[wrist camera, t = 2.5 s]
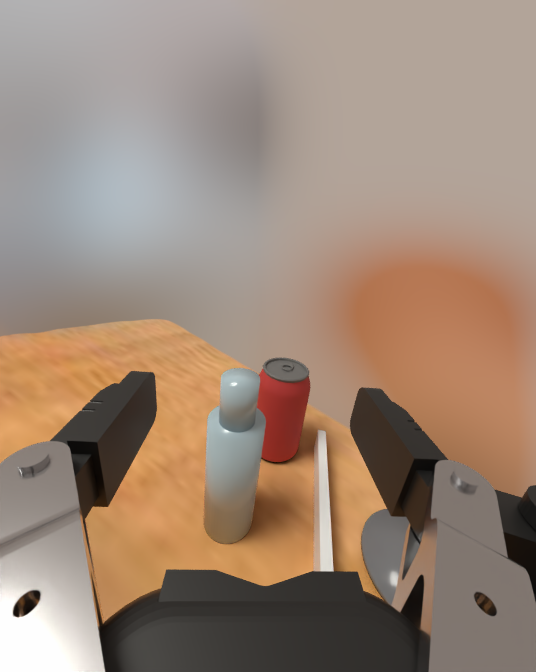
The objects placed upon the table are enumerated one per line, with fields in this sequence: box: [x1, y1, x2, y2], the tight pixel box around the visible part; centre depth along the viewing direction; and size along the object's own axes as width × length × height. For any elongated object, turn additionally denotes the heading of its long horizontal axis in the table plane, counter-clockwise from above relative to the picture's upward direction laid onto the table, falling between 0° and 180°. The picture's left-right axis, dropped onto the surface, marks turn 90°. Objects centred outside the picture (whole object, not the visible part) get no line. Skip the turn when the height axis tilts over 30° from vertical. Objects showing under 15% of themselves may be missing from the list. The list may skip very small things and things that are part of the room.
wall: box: [314, 430, 333, 571], centre depth 25 cm, size 22×1×3 cm, turn 170°
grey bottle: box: [204, 368, 266, 544], centre depth 23 cm, size 5×5×16 cm
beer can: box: [257, 358, 310, 462], centre depth 33 cm, size 7×7×12 cm
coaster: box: [361, 509, 409, 605], centre depth 24 cm, size 10×10×1 cm
